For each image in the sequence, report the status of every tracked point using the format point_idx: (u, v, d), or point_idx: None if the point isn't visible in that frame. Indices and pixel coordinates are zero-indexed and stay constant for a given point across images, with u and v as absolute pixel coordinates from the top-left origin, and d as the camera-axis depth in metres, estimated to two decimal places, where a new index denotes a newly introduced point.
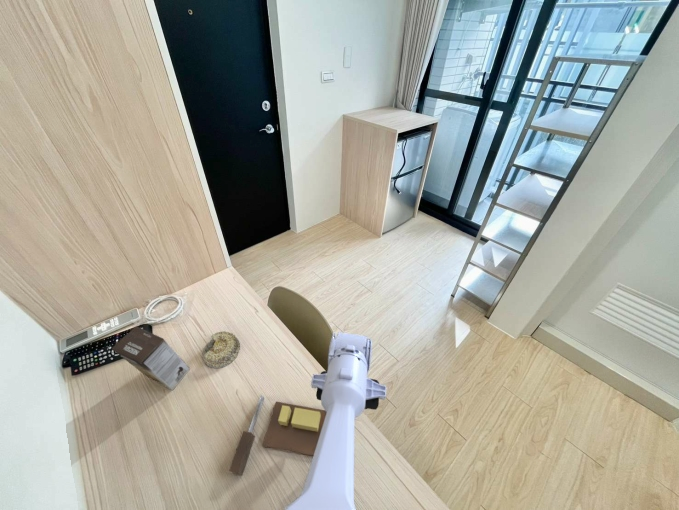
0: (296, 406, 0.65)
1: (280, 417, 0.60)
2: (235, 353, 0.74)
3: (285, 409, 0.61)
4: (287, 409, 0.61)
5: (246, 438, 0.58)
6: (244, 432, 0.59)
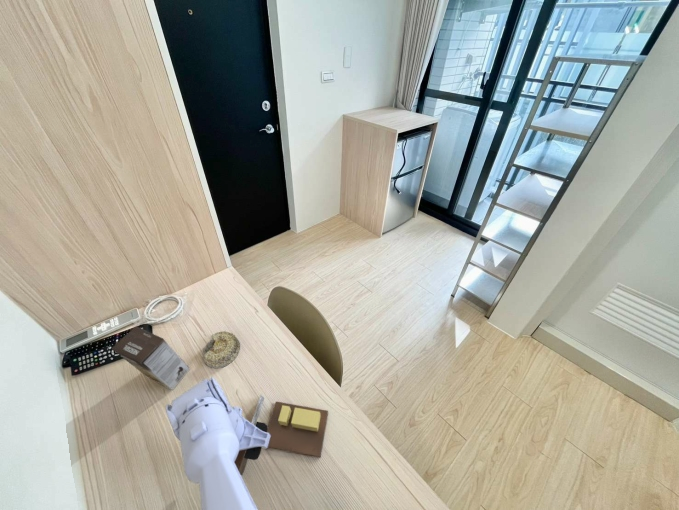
0: (296, 406, 0.65)
1: (280, 417, 0.60)
2: (235, 353, 0.74)
3: (285, 409, 0.61)
4: (287, 409, 0.61)
5: None
6: None
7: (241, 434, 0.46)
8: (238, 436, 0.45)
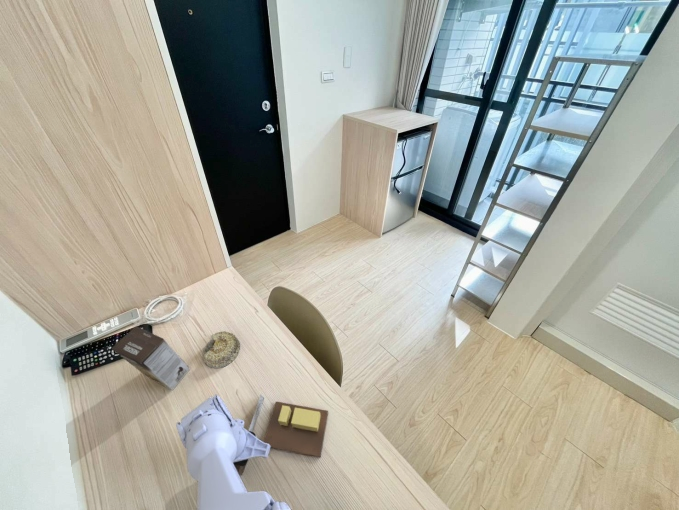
0: (296, 406, 0.65)
1: (280, 417, 0.60)
2: (235, 353, 0.74)
3: (285, 409, 0.61)
4: (287, 409, 0.61)
5: None
6: None
7: (243, 445, 0.50)
8: (241, 447, 0.49)
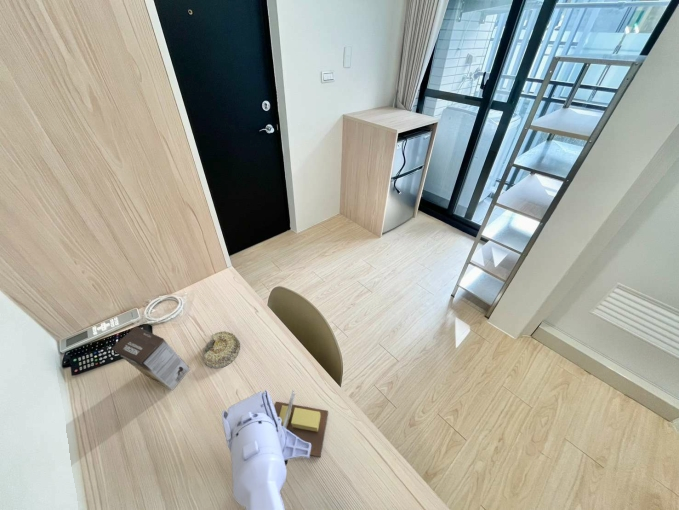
0: (296, 406, 0.65)
1: (280, 417, 0.60)
2: (235, 353, 0.74)
3: (285, 409, 0.61)
4: None
5: None
6: None
7: (284, 444, 0.46)
8: (281, 447, 0.45)
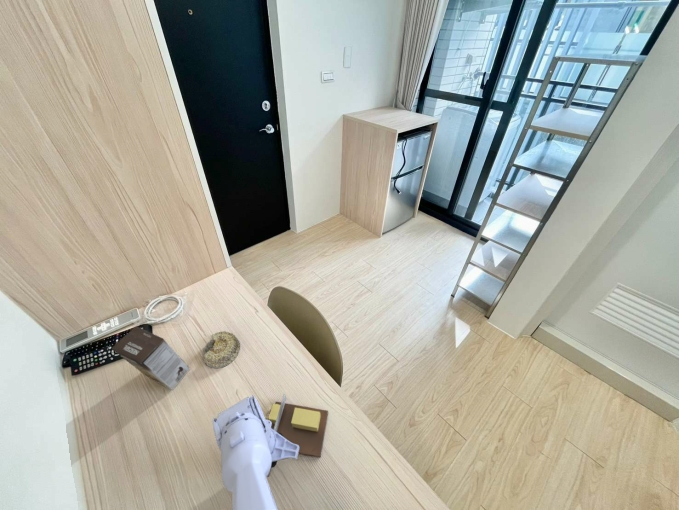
0: (296, 406, 0.65)
1: (270, 415, 0.60)
2: (235, 353, 0.74)
3: (275, 408, 0.61)
4: (278, 407, 0.62)
5: None
6: None
7: (273, 446, 0.49)
8: (271, 448, 0.48)
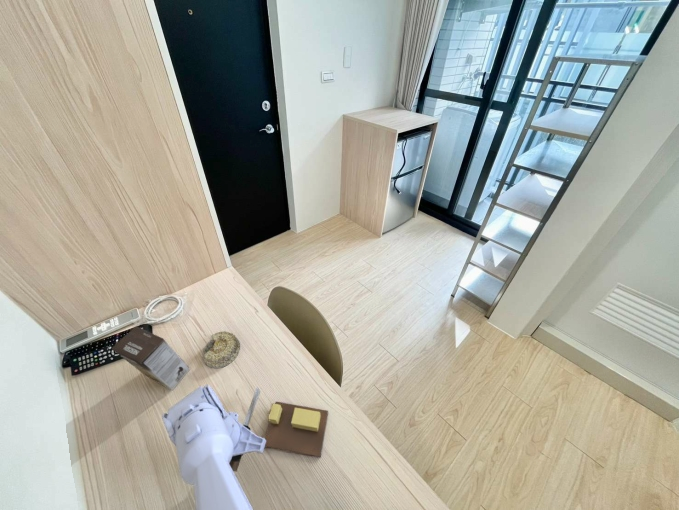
0: (296, 406, 0.65)
1: (270, 415, 0.60)
2: (235, 353, 0.74)
3: (275, 408, 0.61)
4: (278, 407, 0.62)
5: None
6: None
7: (237, 439, 0.47)
8: (234, 441, 0.46)
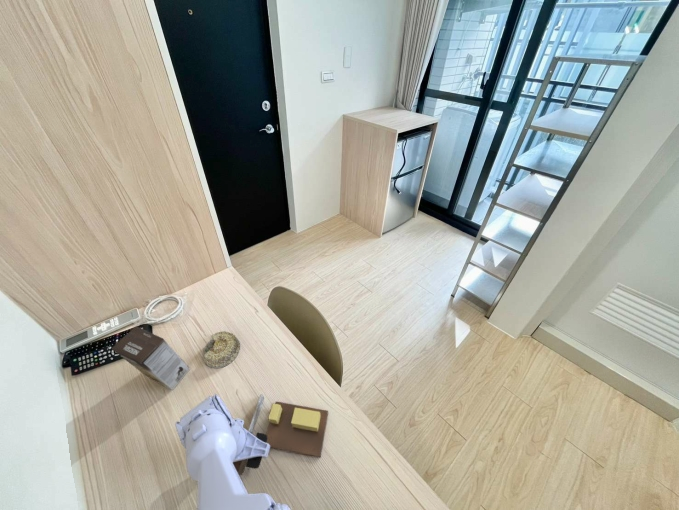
0: (296, 406, 0.65)
1: (270, 415, 0.60)
2: (235, 353, 0.74)
3: (275, 408, 0.61)
4: (278, 407, 0.62)
5: None
6: None
7: (243, 445, 0.50)
8: (240, 447, 0.49)
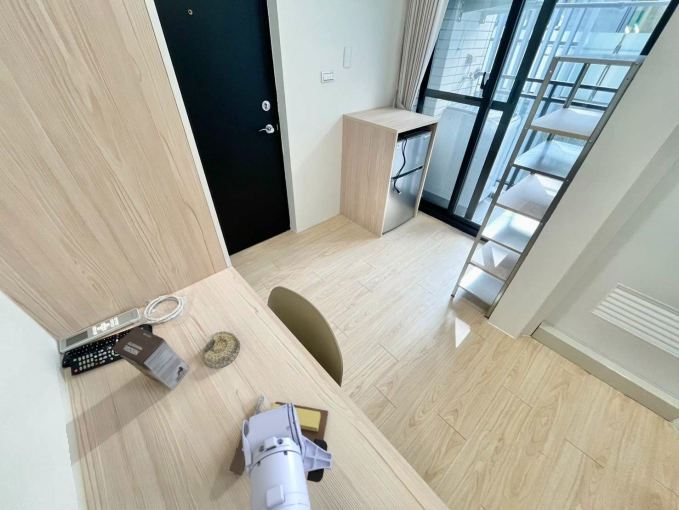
0: (296, 406, 0.65)
1: None
2: (235, 353, 0.74)
3: None
4: None
5: None
6: None
7: (304, 455, 0.42)
8: (302, 458, 0.41)
